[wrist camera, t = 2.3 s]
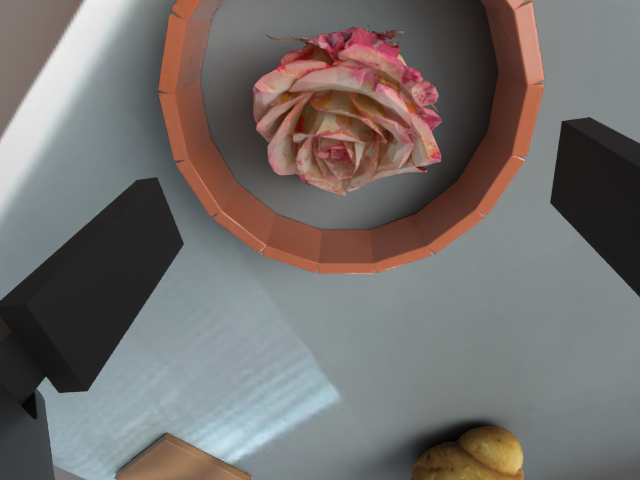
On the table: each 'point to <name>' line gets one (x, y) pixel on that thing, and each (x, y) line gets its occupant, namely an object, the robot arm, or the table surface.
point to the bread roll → (473, 457)
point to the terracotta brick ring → (353, 245)
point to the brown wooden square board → (177, 464)
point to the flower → (346, 111)
